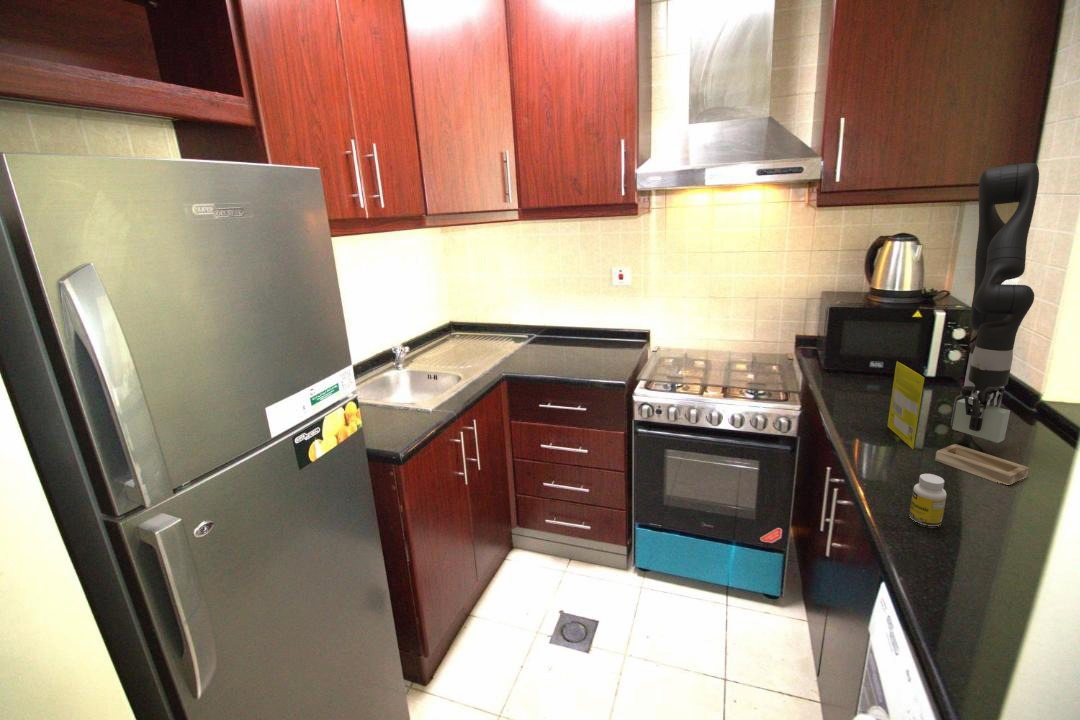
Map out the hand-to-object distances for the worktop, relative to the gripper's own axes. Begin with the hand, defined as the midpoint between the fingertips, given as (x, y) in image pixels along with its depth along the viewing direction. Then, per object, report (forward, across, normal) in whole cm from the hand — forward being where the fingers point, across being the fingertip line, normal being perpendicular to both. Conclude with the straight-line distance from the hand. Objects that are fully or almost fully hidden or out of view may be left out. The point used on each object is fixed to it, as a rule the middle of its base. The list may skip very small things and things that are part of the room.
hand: (978, 428), depth 131 cm
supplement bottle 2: (+7, -12, -8) cm, 16 cm away
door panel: (+2, 0, 0) cm, 2 cm away
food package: (+6, +8, -14) cm, 17 cm away
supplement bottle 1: (+5, +44, +12) cm, 46 cm away
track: (+6, +11, +6) cm, 13 cm away
